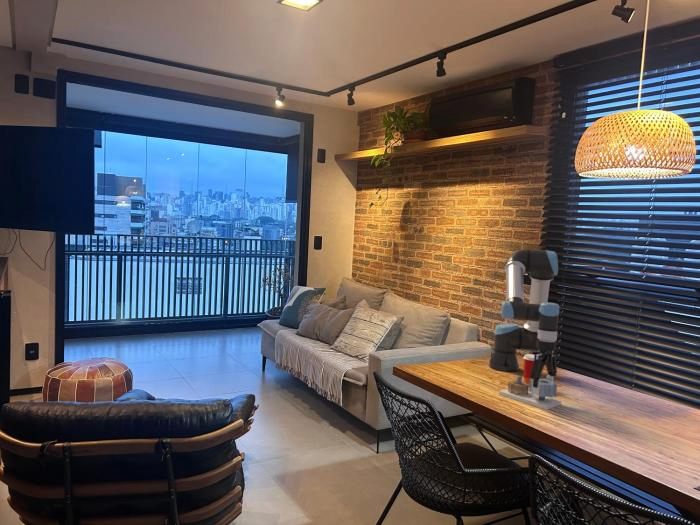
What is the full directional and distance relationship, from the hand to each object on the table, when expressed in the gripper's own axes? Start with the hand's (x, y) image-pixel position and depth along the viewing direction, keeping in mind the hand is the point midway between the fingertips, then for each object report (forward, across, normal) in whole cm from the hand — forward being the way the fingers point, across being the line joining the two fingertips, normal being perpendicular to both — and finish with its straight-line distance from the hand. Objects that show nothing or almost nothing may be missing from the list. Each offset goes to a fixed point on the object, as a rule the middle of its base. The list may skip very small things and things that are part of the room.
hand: (542, 392), depth 213 cm
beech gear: (+3, 0, -11) cm, 11 cm away
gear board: (+4, 0, -6) cm, 7 cm away
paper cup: (+5, -20, -16) cm, 26 cm away
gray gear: (0, 0, 0) cm, 0 cm away
